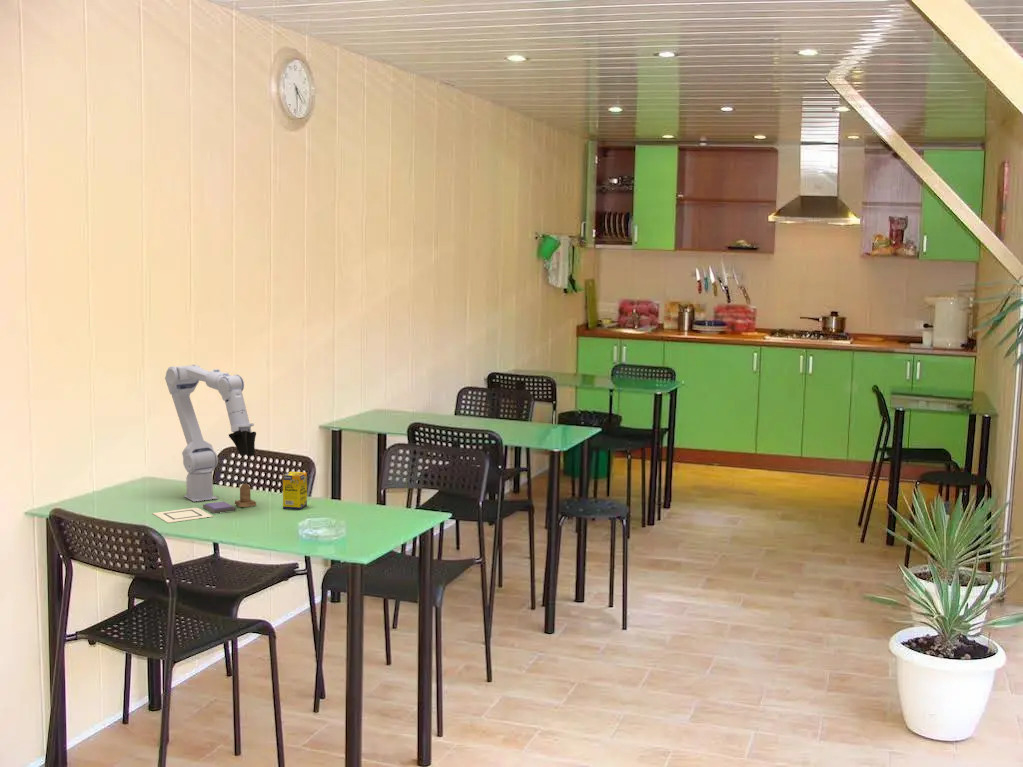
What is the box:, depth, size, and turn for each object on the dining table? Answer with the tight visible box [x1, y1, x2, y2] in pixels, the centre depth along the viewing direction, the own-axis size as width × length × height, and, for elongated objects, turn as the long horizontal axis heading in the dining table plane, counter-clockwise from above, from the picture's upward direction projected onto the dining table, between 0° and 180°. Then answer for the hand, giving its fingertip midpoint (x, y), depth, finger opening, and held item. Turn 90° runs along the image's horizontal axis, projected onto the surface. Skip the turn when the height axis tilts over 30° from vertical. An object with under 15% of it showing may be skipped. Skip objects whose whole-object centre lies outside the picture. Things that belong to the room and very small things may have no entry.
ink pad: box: [202, 500, 237, 514], centre depth 355 cm, size 9×7×2 cm
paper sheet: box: [152, 507, 214, 524], centre depth 348 cm, size 14×14×1 cm
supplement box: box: [282, 471, 308, 511], centre depth 359 cm, size 6×6×11 cm
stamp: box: [234, 483, 257, 508], centre depth 361 cm, size 5×5×7 cm
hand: (247, 455), depth 353 cm, fingers open, 7 cm apart
